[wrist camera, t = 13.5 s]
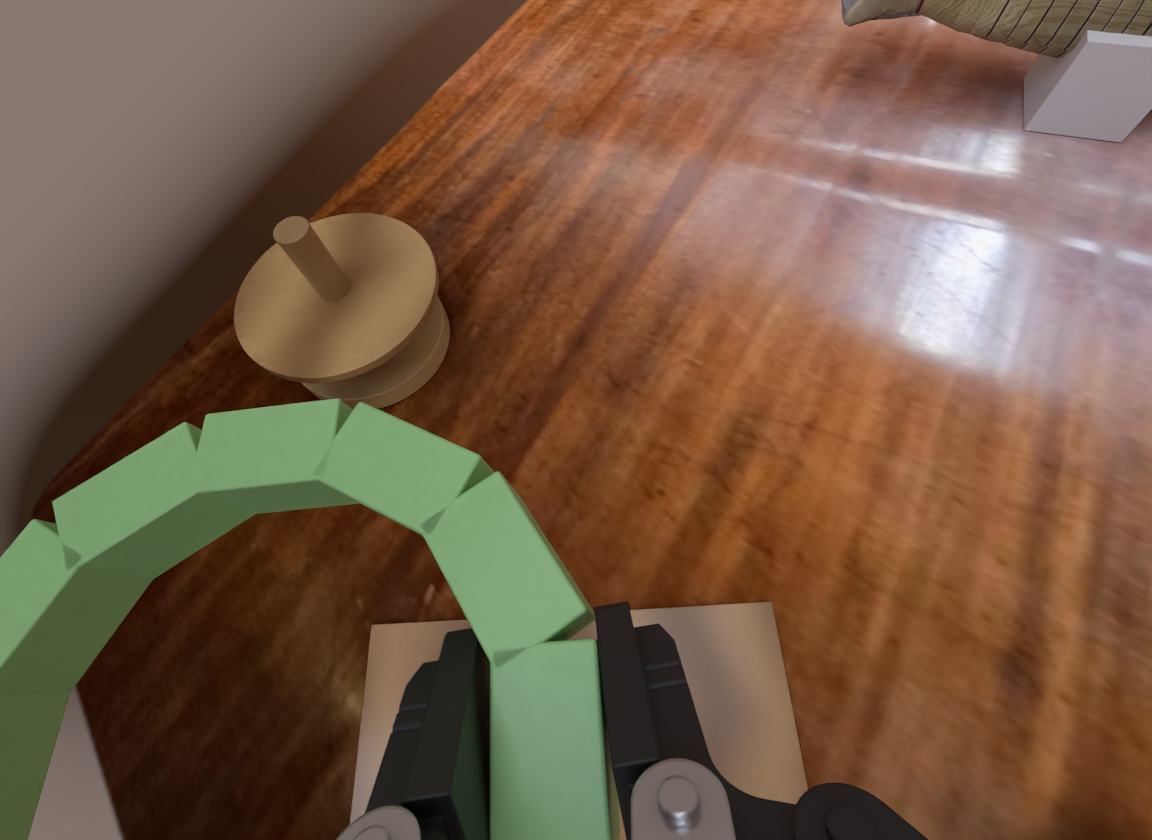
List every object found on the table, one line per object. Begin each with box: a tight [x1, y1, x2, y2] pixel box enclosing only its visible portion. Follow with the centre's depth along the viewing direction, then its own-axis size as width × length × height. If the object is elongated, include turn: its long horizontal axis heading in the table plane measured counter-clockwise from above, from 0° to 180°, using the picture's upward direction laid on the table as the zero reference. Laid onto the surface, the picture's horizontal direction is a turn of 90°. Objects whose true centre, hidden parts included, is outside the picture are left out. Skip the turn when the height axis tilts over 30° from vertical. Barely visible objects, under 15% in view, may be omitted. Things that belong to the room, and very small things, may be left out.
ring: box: [0, 398, 620, 840], centre depth 11 cm, size 15×15×2 cm
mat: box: [350, 602, 808, 840], centre depth 24 cm, size 20×15×1 cm
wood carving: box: [842, 0, 1152, 142], centre depth 35 cm, size 9×35×11 cm, turn 71°
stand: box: [234, 213, 450, 410], centre depth 31 cm, size 12×12×10 cm
